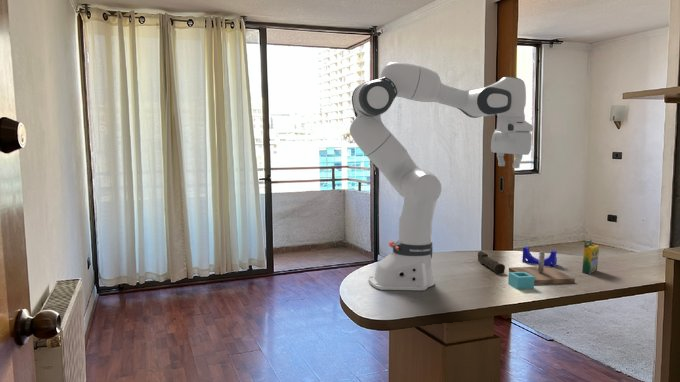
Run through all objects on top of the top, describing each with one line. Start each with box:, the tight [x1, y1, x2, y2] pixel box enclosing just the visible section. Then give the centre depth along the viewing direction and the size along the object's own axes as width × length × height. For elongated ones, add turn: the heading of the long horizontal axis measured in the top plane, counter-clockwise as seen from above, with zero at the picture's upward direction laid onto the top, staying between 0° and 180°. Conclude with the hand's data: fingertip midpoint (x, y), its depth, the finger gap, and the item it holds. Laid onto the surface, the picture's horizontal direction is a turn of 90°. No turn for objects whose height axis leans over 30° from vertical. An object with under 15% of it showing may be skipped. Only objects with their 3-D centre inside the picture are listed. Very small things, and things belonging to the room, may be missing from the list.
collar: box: [507, 271, 535, 290], centre depth 166 cm, size 6×6×4 cm
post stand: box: [508, 250, 576, 285], centre depth 176 cm, size 16×16×10 cm
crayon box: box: [581, 239, 600, 275], centre depth 184 cm, size 7×3×12 cm, turn 132°
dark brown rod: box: [477, 250, 506, 275], centre depth 189 cm, size 19×4×5 cm, turn 6°
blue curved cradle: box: [522, 246, 558, 268], centre depth 196 cm, size 12×4×6 cm, turn 56°
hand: (508, 167), depth 167 cm, fingers open, 8 cm apart
